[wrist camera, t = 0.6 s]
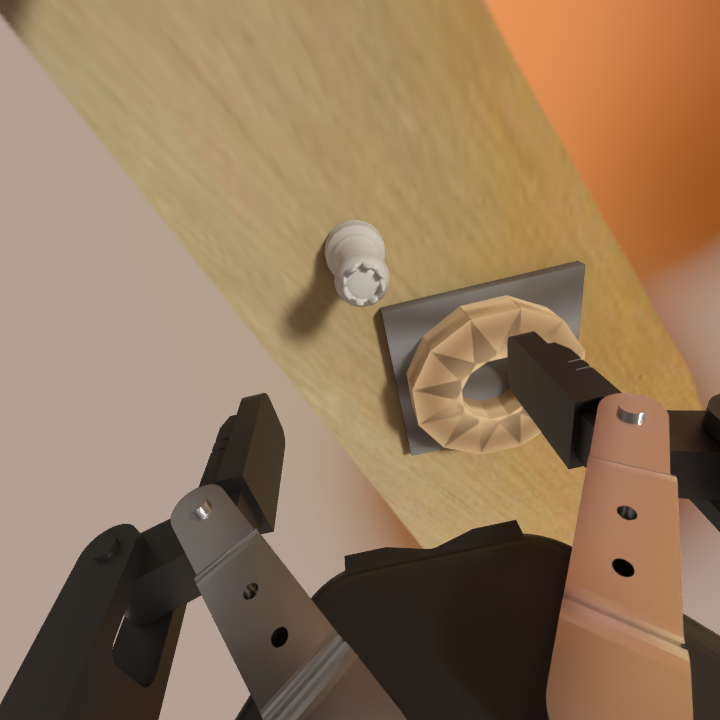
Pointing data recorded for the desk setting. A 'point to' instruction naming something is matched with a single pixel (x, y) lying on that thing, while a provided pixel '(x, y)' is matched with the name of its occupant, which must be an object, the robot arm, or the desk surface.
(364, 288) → the rook chess piece
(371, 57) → the desk surface
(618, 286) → the desk surface
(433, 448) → the gray square plate
